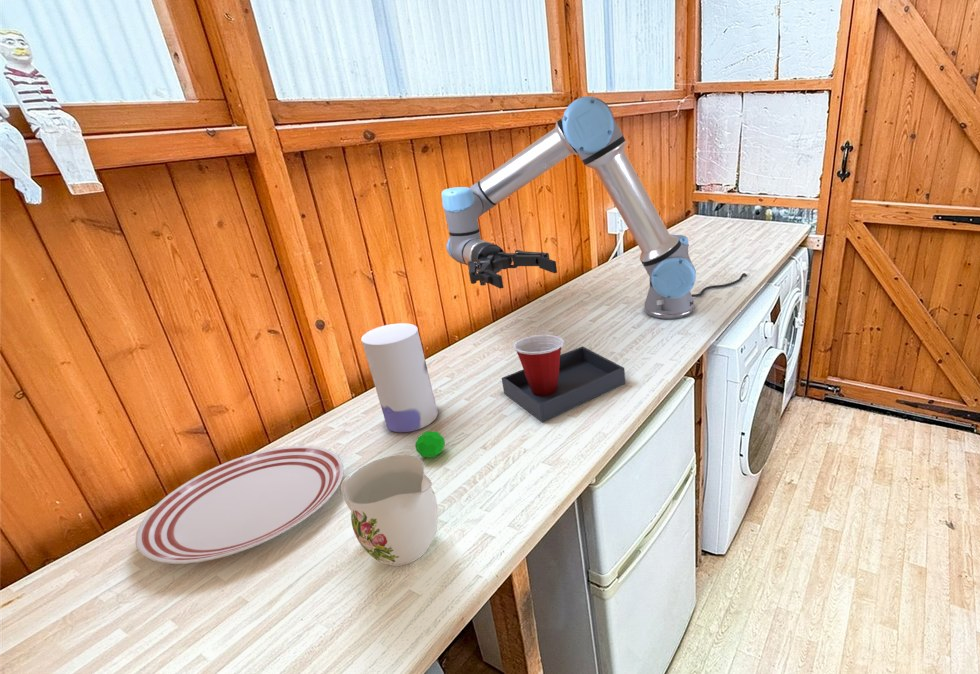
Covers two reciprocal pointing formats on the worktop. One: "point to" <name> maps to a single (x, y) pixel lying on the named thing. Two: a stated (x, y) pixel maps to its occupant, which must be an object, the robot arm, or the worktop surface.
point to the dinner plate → (239, 504)
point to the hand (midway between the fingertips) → (529, 274)
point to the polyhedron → (429, 444)
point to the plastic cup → (540, 362)
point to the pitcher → (392, 508)
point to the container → (400, 376)
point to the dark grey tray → (567, 384)
